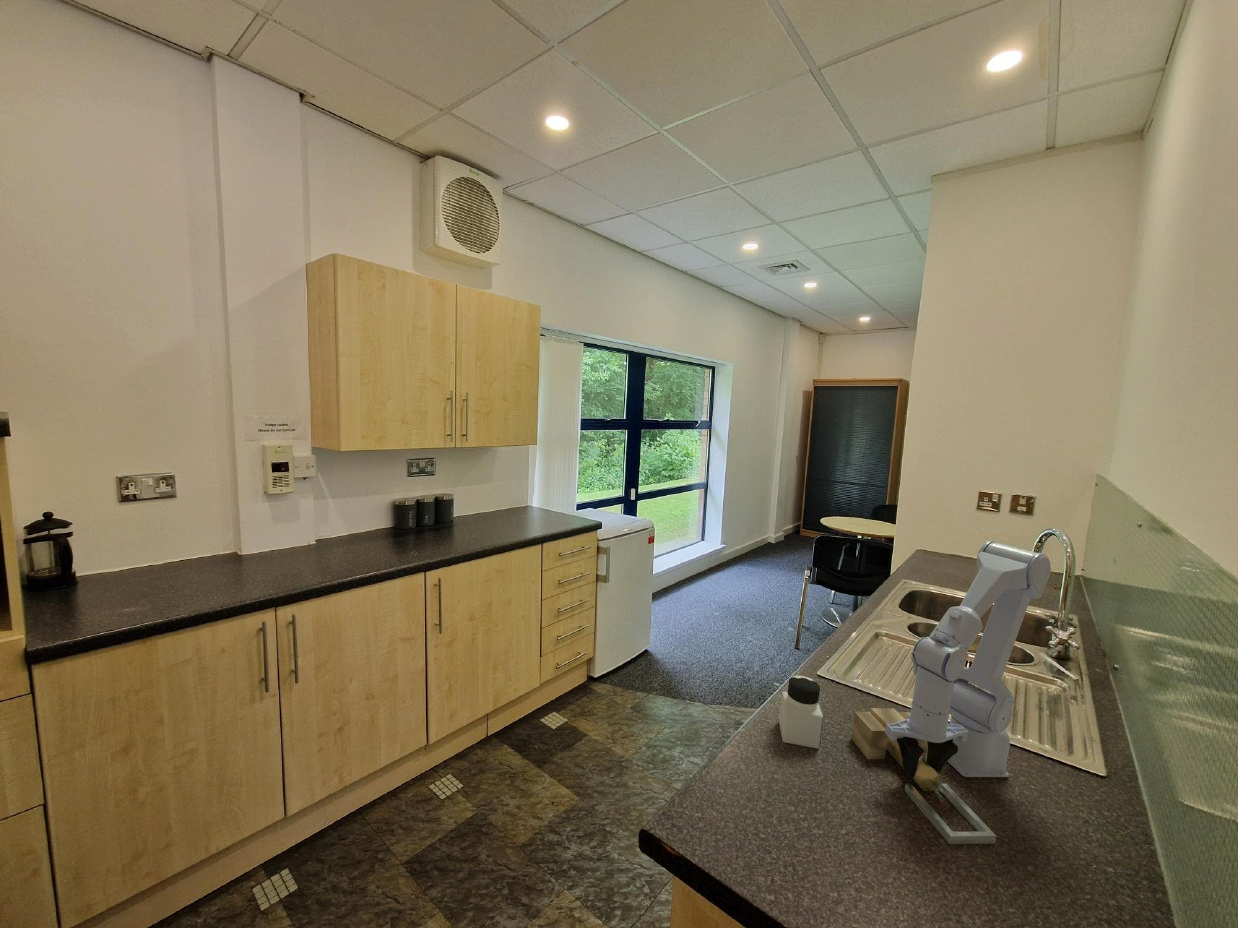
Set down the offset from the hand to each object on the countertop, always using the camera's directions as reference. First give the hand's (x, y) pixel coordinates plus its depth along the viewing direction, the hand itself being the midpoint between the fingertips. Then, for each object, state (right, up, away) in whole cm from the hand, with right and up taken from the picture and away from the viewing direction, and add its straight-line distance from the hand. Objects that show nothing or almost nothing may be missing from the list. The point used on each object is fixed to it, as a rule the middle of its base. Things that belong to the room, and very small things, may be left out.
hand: (920, 773), depth 91 cm
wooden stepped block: (-1, -1, +10) cm, 10 cm away
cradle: (0, -3, -6) cm, 7 cm away
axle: (0, -1, +3) cm, 3 cm away
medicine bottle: (-18, 0, +12) cm, 22 cm away
